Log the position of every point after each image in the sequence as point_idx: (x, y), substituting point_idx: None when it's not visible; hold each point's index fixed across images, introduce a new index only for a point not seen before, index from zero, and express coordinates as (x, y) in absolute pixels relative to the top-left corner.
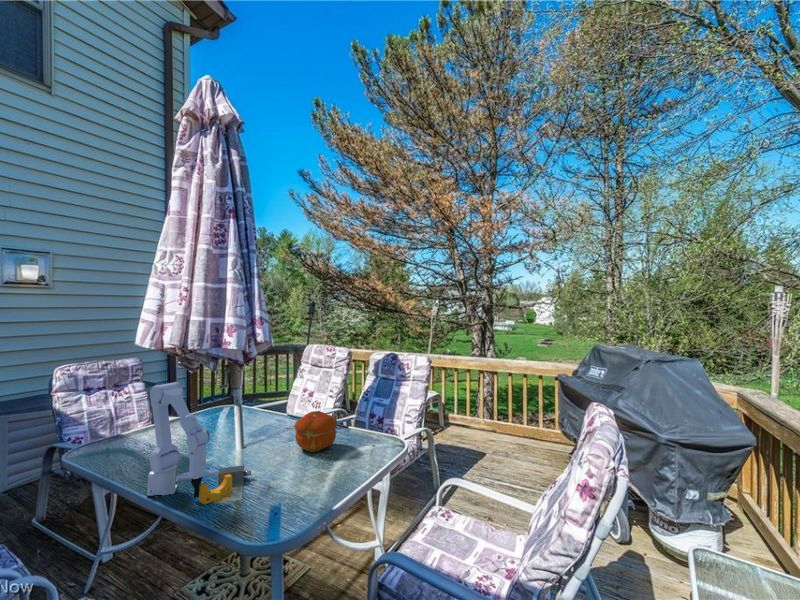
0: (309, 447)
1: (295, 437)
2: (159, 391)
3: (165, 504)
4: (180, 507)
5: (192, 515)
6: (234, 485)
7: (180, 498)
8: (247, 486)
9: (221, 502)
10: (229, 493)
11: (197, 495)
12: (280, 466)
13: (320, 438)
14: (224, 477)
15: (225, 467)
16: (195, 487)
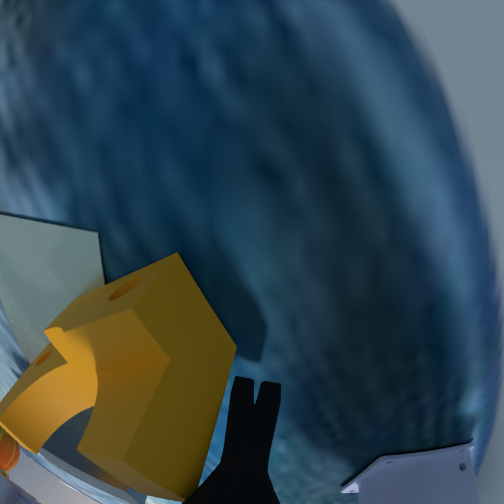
0: None
1: (9, 456)
2: None
3: (459, 383)
4: (404, 309)
5: (300, 48)
6: None
7: (363, 421)
8: (13, 346)
9: (49, 224)
10: None
11: (241, 393)
12: (3, 396)
13: None
14: (38, 442)
15: (118, 497)
16: (249, 485)
